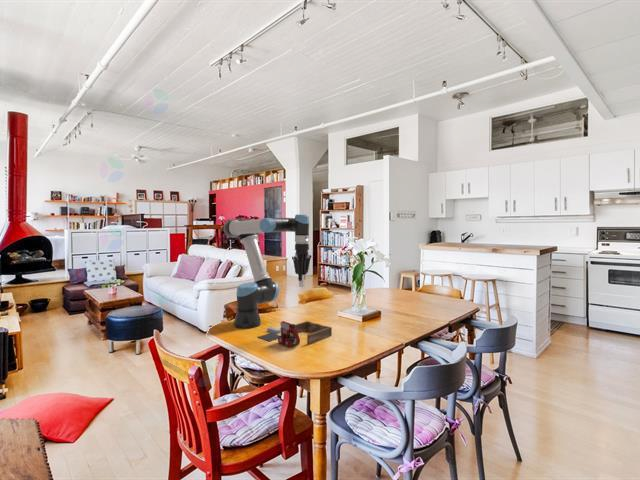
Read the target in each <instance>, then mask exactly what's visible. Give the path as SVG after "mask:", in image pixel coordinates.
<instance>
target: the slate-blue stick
mask: <svg viewBox="0 0 640 480" xmlns="http://www.w3.org/2000/svg"><path fill="white" fill-rule="evenodd" d="M266 330H267V332H269V333H273V334H276V335H280V334H281V332H280V328H279V329H278V328H276V327H271V326H269V327H267V328H266Z"/></svg>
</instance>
